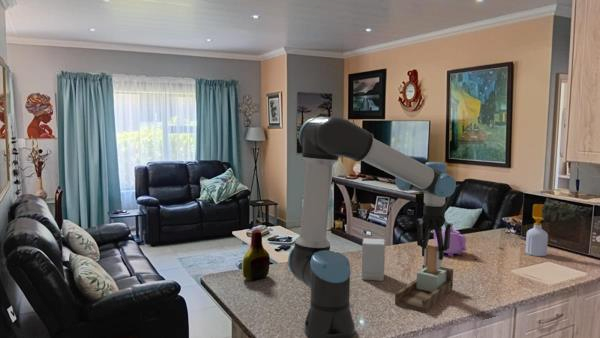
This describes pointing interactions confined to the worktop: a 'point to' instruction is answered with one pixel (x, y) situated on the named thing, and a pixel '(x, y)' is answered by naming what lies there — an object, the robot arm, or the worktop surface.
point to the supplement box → (373, 259)
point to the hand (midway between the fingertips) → (432, 266)
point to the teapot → (453, 242)
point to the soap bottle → (537, 235)
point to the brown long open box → (423, 294)
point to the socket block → (430, 280)
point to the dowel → (431, 259)
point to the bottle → (256, 258)
